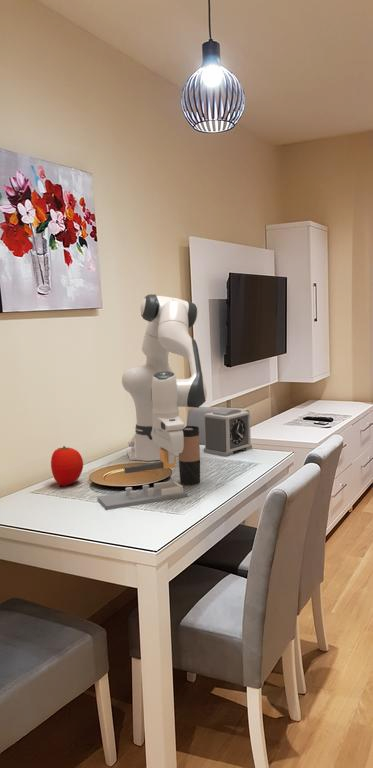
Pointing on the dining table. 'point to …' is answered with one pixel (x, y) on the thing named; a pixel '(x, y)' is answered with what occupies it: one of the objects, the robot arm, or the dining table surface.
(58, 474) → the red apple
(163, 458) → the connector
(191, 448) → the travel mug
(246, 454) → the dining table surface
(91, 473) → the dining table surface
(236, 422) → the alarm clock
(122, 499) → the clip board
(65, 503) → the dining table surface
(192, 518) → the dining table surface
